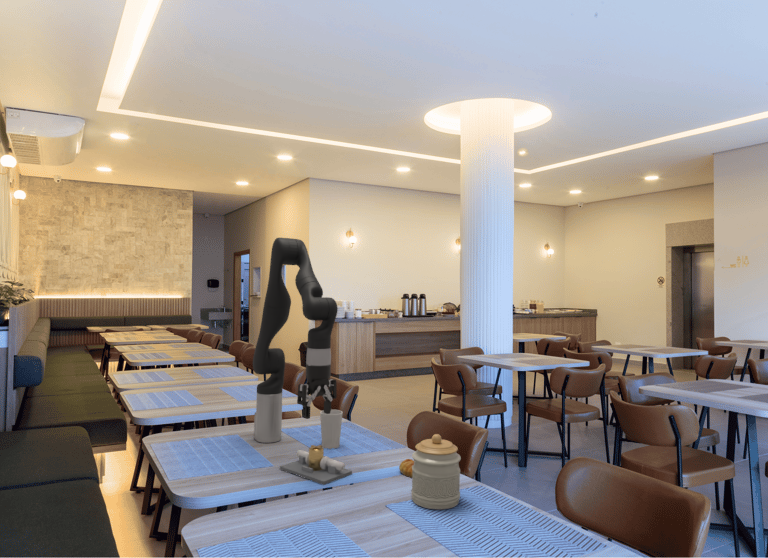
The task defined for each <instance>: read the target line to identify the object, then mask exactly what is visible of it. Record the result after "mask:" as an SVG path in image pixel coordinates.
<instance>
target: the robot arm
mask: <svg viewBox="0 0 768 558" xmlns="http://www.w3.org/2000/svg"><path fill="white" fill-rule="evenodd" d="M270 254H271V255H270V265H269V274H268V281H267V288H266V293H265V299H264V304H263V307H262V315H261V323H260V329H259V332H258V333H259V334H258V337H257V341H256V345H255V348H254V354H253V358H252V369H253V372H254V373H255V374H257V375H269V377H268V378H267V379H265V380H264V381H262V382H259V383H258V384H257V386H256V404H255V405H256V407H255V410H256V411H255V412H254V419H253V420H254V421H253V423H254V424H253V439H255V441H256V442H257V443H263V444H264V443H265V444H266V443H267V444H268V443H269V444H270V443H276V442H279V441H281V440H282V424H283V423H282V421H283V418H282V417H283V386H284V383H285V370H286V369H285V368H286V355H285V351H284V350H283V349H282V348H280V347H278V348H277V347H273V348H270V346H271V343H272V341H273V339H274V338H275V336H277V334H278V333H279V332H280V331H281V329H282V328H283V326H284V325H285V324H286V323H287V322H288V320H289V318H290V317H289V316H290V312H291V305H292V298H291V296H290V293H289V291H288V288H287V287H286V284H285V281H284V278H283V266H284V265H285V266H297V267H298V268H299V270H298V271H297V273H296V275H295V278H294V279H295V280H294V281H295V287H296V289H297V292H298V293H299V295H300V298H301V303H302V314H303V316H304V318H306V319H307V320H309V321H321V323H320V325H319V326H317V327H313V328H310V329H309V330H308V333H307V346H306V348H307V349H306V355H305V356H306V357H305V360H306V361H305V378H306V379H307V381H306V383H304V384H303V383H299V384H298V386H297V387H298V389H297V399H296V400H297V401H296V403H297V405H301V406H302V417H303V419H306V420H309V419H310V418H311V404H312V402H313V401H314V400H315V399H316V398H318V397H322V398H323V400H324V401H323V410H324V413H326V414H330V411H331V410H332V401H333V400H335V399H337V395H338V394H337V387H338V386H337V379H333V378H331V376H332V375H331V374H332V373H331V372H332V369H331V367H332V353H331V351H332V350H331V346H332V344H331V342H332V339H331V338H332V332H333V328H334V324H335V321H336V319H337V318H336V317H337V315H338V309H339V308H338V304H337V302H336V300H335V299H334V298H332V297H327V296H326V297H323V296H324V291H323V288H322V286H321V284H320V282H319V280H318V279H317V276H316V275H315V272H314V269H313V266H312V263H311V259H310V256H309V252H308V248H307V246H306V243H305V242H304V241H303V240H301V239H298V238H290V237H289V238H288V237H276V238H275V239H274V241H273V243H272V247H271V253H270Z"/></svg>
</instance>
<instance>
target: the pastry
mask: <svg viewBox="0 0 768 558" xmlns="http://www.w3.org/2000/svg"><path fill="white" fill-rule="evenodd" d="M413 465H414V459H412V458H406V459H404V460H403V461H401V462H400V464H399V471H400V473H401V474H402V475H404V476H406V477H408V478H411V479H412V466H413Z"/></svg>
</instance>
